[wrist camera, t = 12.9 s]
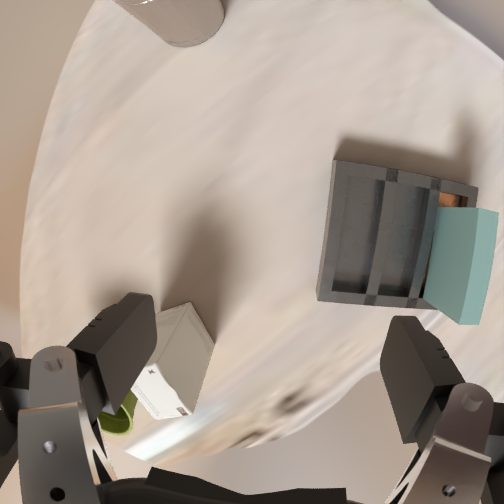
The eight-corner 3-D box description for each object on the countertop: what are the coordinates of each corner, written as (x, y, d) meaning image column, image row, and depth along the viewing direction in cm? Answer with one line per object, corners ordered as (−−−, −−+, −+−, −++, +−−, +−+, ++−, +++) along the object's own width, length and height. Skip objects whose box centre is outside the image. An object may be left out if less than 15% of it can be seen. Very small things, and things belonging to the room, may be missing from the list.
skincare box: (159, 311, 44) (112, 370, 30) (193, 299, 43) (153, 361, 29) (185, 355, 46) (152, 422, 32) (219, 346, 45) (192, 417, 31)
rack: (332, 159, 36) (336, 159, 33) (468, 185, 34) (479, 188, 31) (315, 291, 41) (317, 300, 38) (443, 301, 39) (451, 310, 36)
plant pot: (92, 337, 48) (57, 373, 37) (150, 346, 47) (120, 389, 36) (108, 387, 52) (81, 425, 41) (163, 398, 50) (141, 442, 39)
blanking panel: (436, 206, 34) (478, 207, 24) (454, 210, 34) (498, 212, 24) (422, 298, 36) (458, 324, 26) (440, 300, 36) (478, 324, 26)
